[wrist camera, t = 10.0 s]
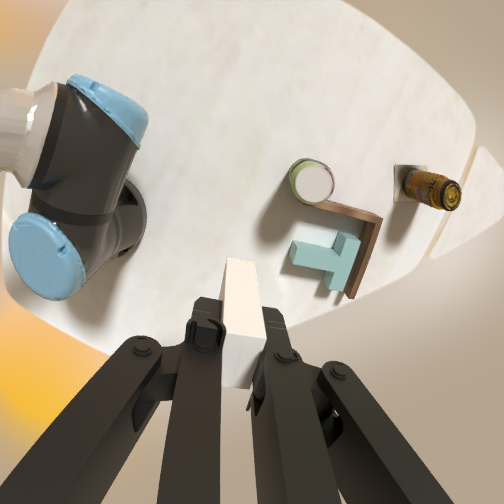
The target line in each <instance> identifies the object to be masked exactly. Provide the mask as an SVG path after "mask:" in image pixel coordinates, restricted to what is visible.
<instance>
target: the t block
mask: <svg viewBox="0 0 504 504" xmlns="http://www.w3.org/2000/svg"><path fill="white" fill-rule="evenodd" d="M360 243H361V241H360V240H358V239H357V238H356V237H355V236H353V235H352V234H348V233H344V232H340V231H339V232H338V235H337V238H336V241H335V244H334V247H333V249H332V248H327V247H323V246H318V245H313V244H309V243H304V242H299V241H295V240H293V241H292V245H291V248H290V252H289V255H288V256H289V258H290V260H291V262H292V264H294V265H299V266H304V267H310V268H315V269H320V270H326V271H325V274H324V277H323V279H322V280H323V281H324V283H325V285H326V286H327V288H328V289H329V290H335V291H341V292H343V289H344V287H345V284H346V282H347V279H348V276H349V274H350V271H351V268H352V266H353V263H354V260H355V257H356V255H357V252H358V249H359V246H360Z"/></svg>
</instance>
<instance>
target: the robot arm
mask: <svg viewBox="0 0 504 504" xmlns="http://www.w3.org/2000/svg"><path fill="white" fill-rule="evenodd" d="M147 125H148V115H147V112H146V111H145V109H144V108H143V107H141V106H140V105H139V104H137V103H136V102H134V101H133V100H131V99H130V98H128V97H126V96H124V95H123V94H121V93H119V92H117V91H115V90H113V89H111V88H109V87H107V86H105V85H103V84H99V83H98V82H96V81H93V80H92V79H90V78H87V77H84V76H81V75H76V74H75V75H72V76H71V77H70V79H68V80H67V82H66V85H64V84H60V83H57V82H51V83H49V84H48V85H46V86H44V87H43V88H41V89H39V90H38V91H35V92H32V91H27V90H22V89H17V88H12V87H7V86H1V85H0V171H1V172H11V173H12V174H13V175H14V176H15V178H16V179H17V181H18V182H19V184H20V185H21V187H22V188H27V189H32V194H31V199H30V204H29V209H28V212H27V213H24V214H22V215H20V216H19V218H18V219H17V220H16V221H15V222H14V223H13V225H12V227H11V230H10V233H9V252H10V256H11V259H12V262H13V264H14V267H15V269H16V271H17V272H18V273H19V275H20V277H21V279H22V280H23V282H24V283H25V284H26V285H27V286H28V287H29V288H30V289H31V290H32V291H33V292H35V293H36V294H37V295H39V296H41V297H43V298H45V299H48V300H52V301H61V300H64V299H67V298H69V297H71V296H72V295H73V294H74V293H76V292H77V291H79V290H80V289H81V288H82V287H83V286H84V284H85V283H86V281H87V280H88V279H89V278H90V277H91V276H92V275H93V274H94V273H95V272H96V271H97V270H98V269H99V268H100V267H101V266H102V265H103V264H104V263H105V262H106V260H107V259H111V258H116V257H120V256H122V255H124V254H126V253H128V252H129V251H131V250H132V249H133V248H134V247H135V246H136V244H137V243H138V242H139V241H140V239H141V238H142V236H143V234H144V231H145V228H146V221H147V213H146V207H145V203H144V200H143V198H142V196H141V194H140V192H139V191H138V189H137V188H136V187H135V186H134V185H133V184H132V183H131V182H130V181H128V180H127V179H126V177H127V174H128V171H129V169H130V166H131V164H132V161H133V159H134V156H135V154H136V152H137V150H139V149H140V146H141V145H140V142H141V140H142V137H143V135H144V132H145V130H146V128H147ZM252 382H253V392H252V394H251V397H250V399H249V402H248V405H247V408H246V411H249V409H250V406H251V420H252V435H253V449H254V462H255V475H256V488H257V500H258V504H342V503H341V499H340V495H339V492H338V489H339V491H340V493H341V494H342V496H343V498H344V500H345V501H346V503H347V504H454V503H453V502H452V500H451V499H450V498H449V496H448V495H447V494H446V492H445V491H444V490H443V488H442V487H441V485H440V484H439V483H438V482H437V480H436V479H435V478H434V476H433V475H432V474H431V473H430V471H429V470H428V468H427V467H426V466H425V464H424V463H423V462H422V460H421V459H420V458H419V456H418V455H417V454H416V452H415V451H414V450H413V448H412V447H411V446H410V445H409V443H408V442H407V440H406V439H405V438H404V437H403V435H402V434H401V433H400V431H399V430H398V429H397V428H396V426H395V425H394V423H393V422H392V421H391V419H390V418H389V417H388V416H387V414H386V413H385V412H384V410H383V409H382V408H381V406H380V405H379V404H378V403H377V401H376V400H375V399H374V398H373V396H372V395H371V393H370V392H369V391H368V389H367V388H366V387H365V386H364V384H363V383H362V382H361V381H360V379H359V378H358V377H357V375H356V374H355V373H354V371H353V370H352V369H351V368H350V367H349V366H347V365H346V364H344V363H341V362H338V361H329V362H326V363H325V364H324V365H323V366H322V368H319V367H315V366H312V365H309V364H306V363H304V362H303V361H302V358H301V356H300V355H299V353H298V352H297V351H295V350H294V349H292V347H291V344H290V340H289V337H288V333H287V330H286V325H285V321H284V318H283V315H282V314H281V313H280V312H279V310H278V309H276V308H269V307H263V306H261V300H260V294H259V288H258V282H257V276H256V270H255V263H254V262H250V261H244V260H239V259H234V258H228V257H227V261H226V266H225V271H224V276H223V281H222V286H221V291H220V296H219V300H216V299H211V298H205V297H200V298H199V299H198V300H196V301H195V303H194V308H193V312H192V316H191V319H189V321H188V322H187V324H186V333H185V340H184V342H182V343H181V344H179V345H176V346H170V347H161V345H160V344H159V343H158V341H156V340H155V339H153V338H151V337H147V336H134V337H130V338H129V339H127V340H126V341H125V342H124V343H123V344H122V345H121V346H120V347H119V348H118V349H117V350H116V351H115V353H114V354H113V355H112V356H111V357H110V358H109V359H108V360H107V361H106V362H105V364H104V365H103V366H102V367H101V368H100V369H99V370H98V371H97V372H96V373H95V374H94V376H93V377H92V378H91V379H90V380H89V381H88V382H87V383H86V384H85V386H84V387H83V388H82V389H81V390H80V391H79V392H78V393H77V395H76V396H75V397H74V398H73V399H72V400H71V401H70V403H69V404H68V405H67V406H66V407H65V408H64V409H63V411H62V412H61V413H60V414H59V415H58V417H57V418H56V419H55V420H54V421H53V422H52V423H51V425H50V426H49V427H48V428H47V429H46V430H45V432H44V433H43V434H42V435H41V436H40V438H39V439H38V440H37V441H36V442H35V444H34V445H33V446H32V447H31V449H30V450H29V451H28V452H27V453H26V455H25V456H24V457H23V458H22V460H21V461H20V462H19V463H18V465H17V466H16V467H15V468H14V469H13V471H12V472H11V473H10V475H9V476H8V477H7V479H6V480H5V481H4V482H3V484H2V485H1V486H0V504H101V502H102V500H103V499H104V497H105V495H106V493H107V492H108V490H109V488H110V487H111V485H112V483H113V481H114V480H115V478H116V476H117V475H118V473H119V471H120V470H121V468H122V466H123V465H124V463H125V461H126V459H127V458H128V456H129V454H130V453H131V451H132V449H133V448H134V446H135V444H136V442H137V441H138V439H139V437H140V436H141V434H142V432H143V430H144V429H145V427H146V425H147V424H148V422H149V420H150V419H151V417H152V415H153V414H154V412H155V410H156V408H157V407H158V405H159V403H160V401H169V400H173V401H172V407H171V413H170V418H169V424H168V429H167V435H166V441H165V448H164V454H163V460H162V467H161V474H160V481H159V489H158V497H157V504H220V423H221V386H224V387H232V388H240V389H250V386H251V384H252ZM335 410H336V412H337V413H338V415H339V416H338V415H337V414H336V413H335Z"/></svg>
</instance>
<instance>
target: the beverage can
mask: <svg viewBox="0 0 504 504" xmlns="http://www.w3.org/2000/svg"><path fill="white" fill-rule="evenodd" d="M289 181H290V185H291V189H292V191H293V193H294V195H295V196H296V197H297V198H298V199H299V200H300V201H302V202H304V203H306V204H312V205H314V204H320V203H322V202H324V201H326V200H327V199H328V198H329V197H330V196H331V194H332V193H333V190H334V187H335V179H334V175H333V173H332V171H331V170H330V168H329V167H328V166H327V165H325V164H324V163H322V162H319V161H316V160H313V159H310V158H303V159H300V160H297V161H296V162H295V163H294V164H293V165H292V166H291V168H290V170H289Z"/></svg>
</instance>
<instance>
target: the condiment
mask: <svg viewBox="0 0 504 504" xmlns="http://www.w3.org/2000/svg"><path fill="white" fill-rule="evenodd" d="M394 171H395V172H394V202H410V201H418V202H420V203H424V204H426V205H429V206H430V207H434V208H436V209H444V210H447V211H454V210H455V209H456V208H457V207H458V206H459V204H460V201H461V194H462V193H461V189H460V186H459V184H458V183H457V182H455V181H453V180H450V179H448V178H447V177H446V176H443V175H439V174H435V173H431V172H427V166H418V165H395V170H394ZM406 171H407V172H406ZM403 191H404V193H403Z"/></svg>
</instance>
